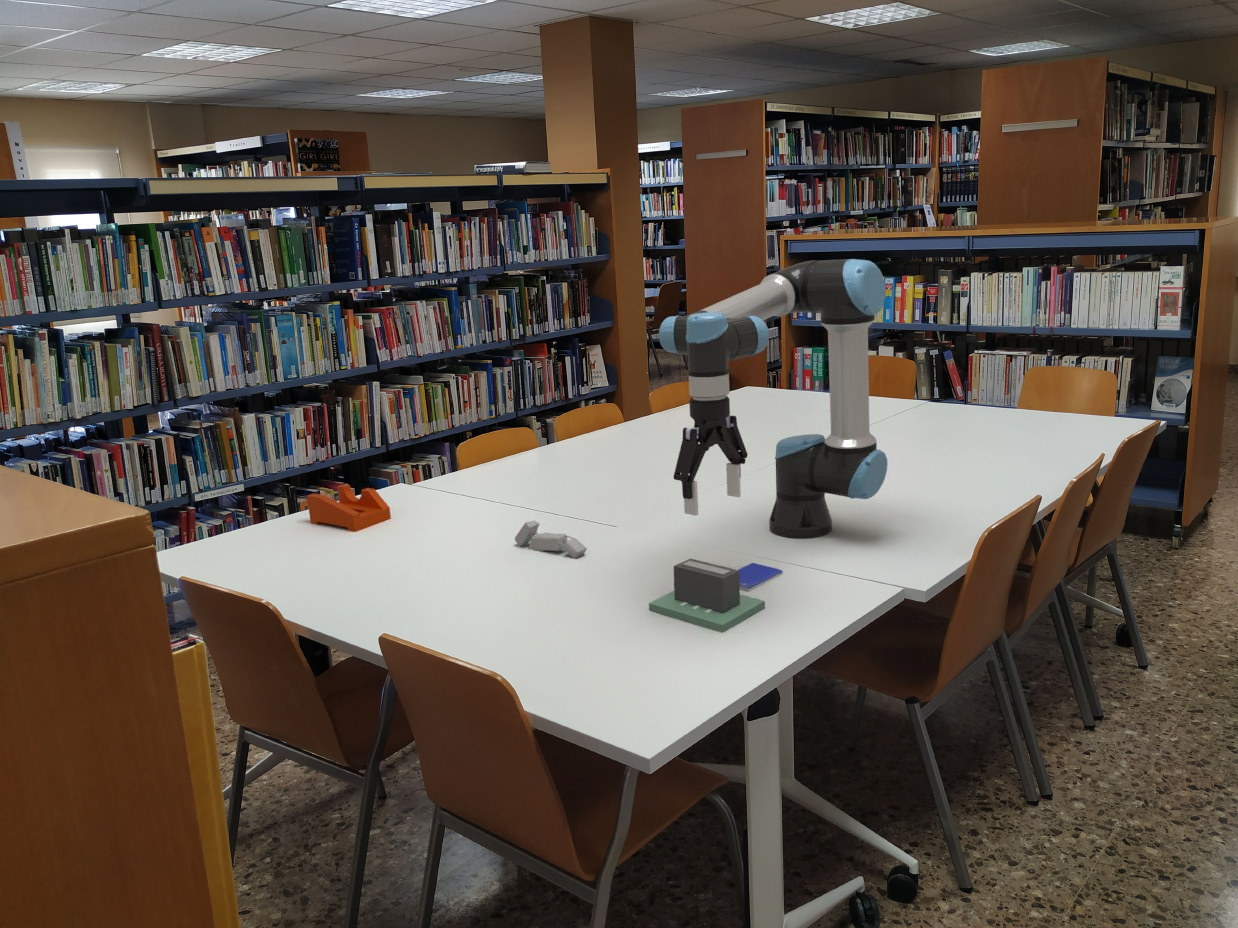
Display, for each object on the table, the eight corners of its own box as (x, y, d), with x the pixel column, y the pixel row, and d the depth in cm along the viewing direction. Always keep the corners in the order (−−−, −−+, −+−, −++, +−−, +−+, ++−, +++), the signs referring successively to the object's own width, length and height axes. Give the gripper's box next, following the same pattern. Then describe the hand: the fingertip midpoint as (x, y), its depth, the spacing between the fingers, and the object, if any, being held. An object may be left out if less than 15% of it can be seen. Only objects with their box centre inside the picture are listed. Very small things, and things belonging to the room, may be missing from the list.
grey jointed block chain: (513, 544, 228) (513, 519, 226) (524, 540, 231) (523, 514, 229) (577, 566, 217) (577, 539, 214) (587, 561, 219) (587, 534, 217)
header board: (692, 588, 195) (691, 563, 194) (764, 607, 183) (764, 581, 182) (649, 610, 185) (647, 584, 184) (722, 632, 173) (722, 604, 172)
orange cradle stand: (310, 524, 256) (306, 495, 254) (347, 512, 266) (343, 484, 264) (355, 533, 246) (351, 503, 244) (391, 520, 256) (387, 491, 254)
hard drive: (748, 587, 191) (782, 569, 200) (716, 578, 197) (751, 562, 206) (748, 594, 192) (782, 576, 200) (717, 585, 197) (751, 568, 206)
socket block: (691, 591, 190) (690, 557, 188) (739, 604, 182) (739, 569, 180) (674, 599, 186) (673, 564, 184) (723, 612, 178) (723, 577, 176)
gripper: (732, 384, 186) (735, 486, 191) (650, 407, 168) (656, 518, 173) (763, 386, 181) (766, 491, 186) (683, 410, 163) (688, 525, 168)
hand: (713, 504), depth 180 cm, fingers open, 13 cm apart
